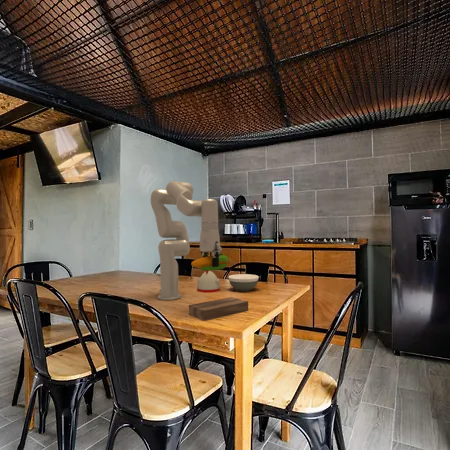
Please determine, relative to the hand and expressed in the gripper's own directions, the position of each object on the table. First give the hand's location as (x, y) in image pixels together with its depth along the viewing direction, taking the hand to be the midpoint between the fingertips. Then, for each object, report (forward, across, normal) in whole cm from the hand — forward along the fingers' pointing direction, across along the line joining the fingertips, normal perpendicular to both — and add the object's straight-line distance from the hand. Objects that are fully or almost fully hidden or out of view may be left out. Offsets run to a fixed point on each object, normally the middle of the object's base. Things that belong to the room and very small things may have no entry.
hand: (210, 265), depth 136 cm
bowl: (+20, -28, +43) cm, 56 cm away
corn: (+2, 0, 0) cm, 2 cm away
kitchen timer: (+20, -41, +26) cm, 53 cm away
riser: (+20, +3, +2) cm, 21 cm away
